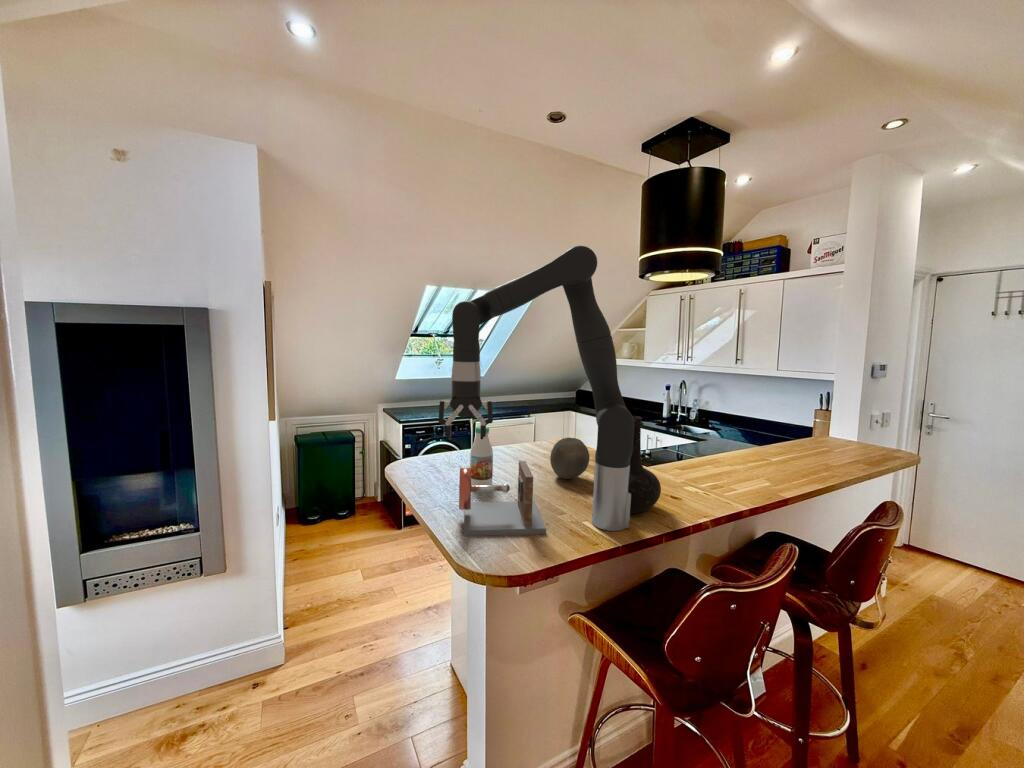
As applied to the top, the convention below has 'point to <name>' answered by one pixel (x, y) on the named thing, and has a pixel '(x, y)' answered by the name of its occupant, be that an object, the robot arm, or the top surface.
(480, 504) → the base board
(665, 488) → the top surface
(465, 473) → the copper disc with rod
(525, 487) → the brown wooden panel
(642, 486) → the dark bulbous vase
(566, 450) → the dark brown ball
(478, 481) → the milk bottle
